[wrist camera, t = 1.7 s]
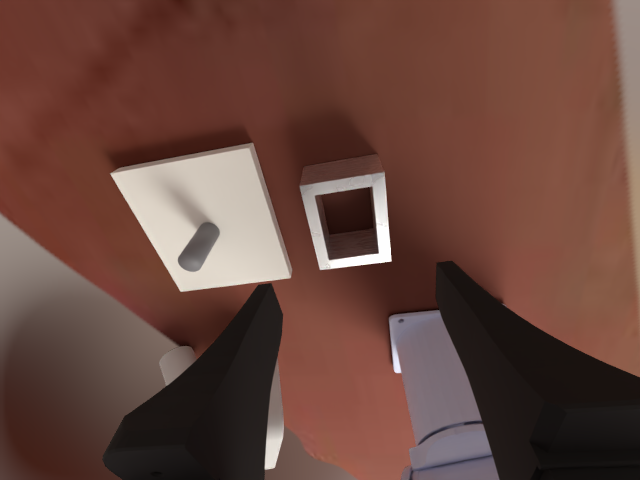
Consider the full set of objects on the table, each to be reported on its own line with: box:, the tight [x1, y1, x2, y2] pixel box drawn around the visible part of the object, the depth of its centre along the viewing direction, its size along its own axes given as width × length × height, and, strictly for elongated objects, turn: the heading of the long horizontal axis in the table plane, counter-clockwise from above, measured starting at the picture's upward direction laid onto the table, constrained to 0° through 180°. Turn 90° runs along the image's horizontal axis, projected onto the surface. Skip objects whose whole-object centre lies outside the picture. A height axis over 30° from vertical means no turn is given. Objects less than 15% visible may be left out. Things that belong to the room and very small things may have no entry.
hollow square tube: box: [300, 154, 391, 270], centre depth 19 cm, size 6×5×3 cm
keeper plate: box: [110, 143, 292, 292], centre depth 20 cm, size 9×10×4 cm
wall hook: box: [160, 346, 284, 469], centre depth 27 cm, size 8×10×10 cm
